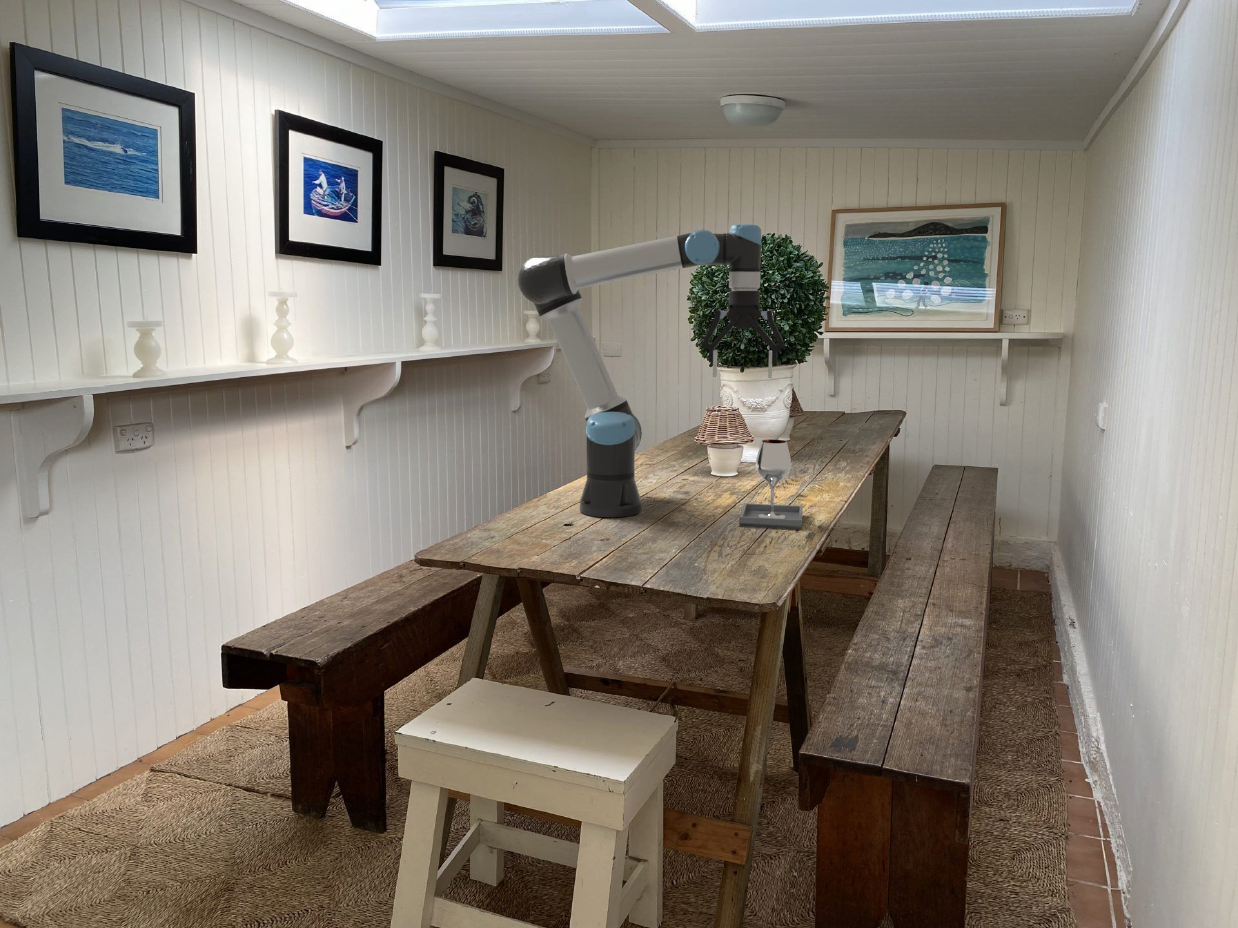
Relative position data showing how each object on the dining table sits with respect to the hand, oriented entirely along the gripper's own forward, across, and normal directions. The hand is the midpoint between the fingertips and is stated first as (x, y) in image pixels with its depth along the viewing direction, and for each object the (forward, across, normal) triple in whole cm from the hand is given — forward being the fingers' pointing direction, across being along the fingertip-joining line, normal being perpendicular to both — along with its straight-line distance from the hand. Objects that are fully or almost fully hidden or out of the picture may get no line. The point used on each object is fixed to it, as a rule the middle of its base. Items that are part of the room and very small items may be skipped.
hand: (742, 377), depth 236 cm
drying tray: (+32, -9, +18) cm, 38 cm away
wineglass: (+31, -9, +18) cm, 37 cm away
